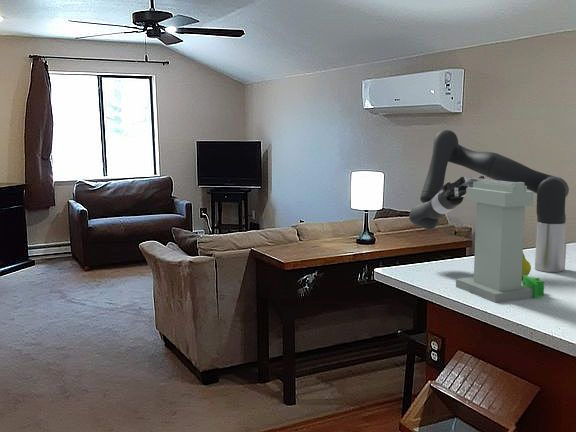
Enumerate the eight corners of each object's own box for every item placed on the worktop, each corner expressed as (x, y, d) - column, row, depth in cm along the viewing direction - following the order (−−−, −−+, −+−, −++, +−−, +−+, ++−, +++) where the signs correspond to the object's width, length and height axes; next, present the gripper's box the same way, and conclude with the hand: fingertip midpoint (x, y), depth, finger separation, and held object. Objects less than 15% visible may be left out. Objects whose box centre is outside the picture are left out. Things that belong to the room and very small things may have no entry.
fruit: (508, 274, 203) (510, 240, 202) (529, 276, 201) (531, 242, 199) (509, 279, 197) (510, 244, 195) (530, 281, 195) (532, 245, 193)
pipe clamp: (547, 299, 174) (547, 284, 173) (534, 299, 174) (534, 284, 174) (534, 289, 185) (535, 275, 184) (522, 289, 185) (523, 274, 185)
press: (491, 282, 193) (496, 177, 188) (533, 297, 175) (539, 181, 170) (455, 286, 188) (459, 178, 183) (494, 302, 170) (499, 183, 166)
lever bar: (463, 184, 195) (463, 176, 195) (518, 191, 171) (518, 182, 170) (457, 184, 194) (457, 176, 194) (511, 191, 170) (511, 183, 169)
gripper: (426, 190, 201) (451, 169, 187) (461, 189, 206) (489, 167, 191) (431, 210, 199) (458, 190, 184) (467, 208, 203) (495, 188, 189)
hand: (473, 178), depth 188 cm, fingers open, 7 cm apart
